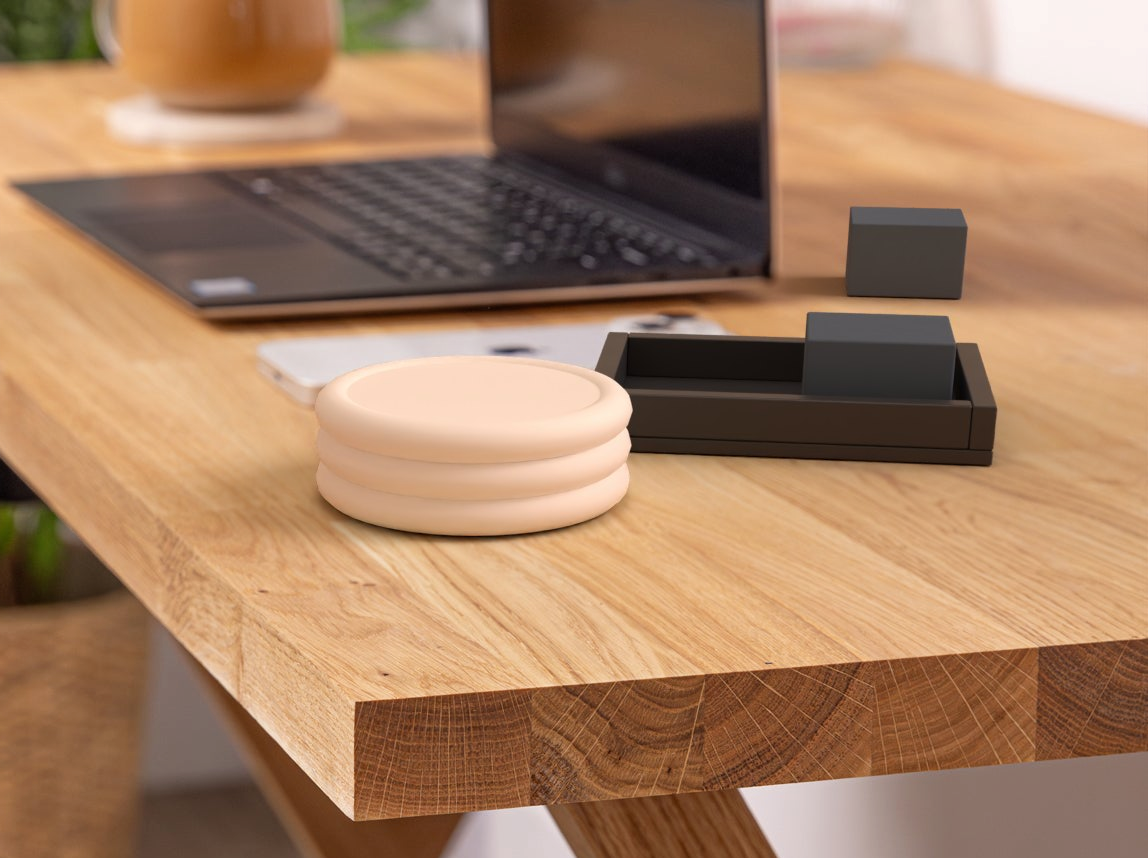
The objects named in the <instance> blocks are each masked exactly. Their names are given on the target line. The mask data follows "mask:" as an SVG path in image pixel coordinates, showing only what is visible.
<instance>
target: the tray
mask: <svg viewBox="0 0 1148 858" xmlns="http://www.w3.org/2000/svg"><path fill="white" fill-rule="evenodd" d="M804 348H805V337H797V336H795V337H794V336H790V337H789V336H764V335H763V336H762V335H761V336H760V335H731V334H730V335H729V334H702V333H701V334H700V333H699V334H695V333H666V332H665V333H663V332H636V331H635V332H634V331H633V332H627V331H625V332H624V331H609V332H608V333H607V336H606V338H605V341H604V344H603V347H602V349H601V351H600V355H599V357H598V360H597V362H596V366H595V368H594V371H596V372H598V373H601V374H603V375H606V376H608V377H609V378H611V379H613V380H614V381H615V382H617V383H618V384H619V385H620V386H621V387H622V388H623V389H624V390H625V391H626V392H627V393H628V395H629V397H630V401H631V405H632V410H633V411H632V414H631V417H630V420H629V423H628V425H627V427H626V428H627V430H628V433H629V437H630V441H631V448H630V451H629V452H638V453H639V452H641V453H643V452H644V453H669V454H691V455H692V454H693V455H694V454H695V455H717V456H719V455H720V456H741V457H742V456H745V457H771V458H795V459H796V458H797V459H799V458H800V459H821V460H823V459H825V460H826V459H827V460H844V461H845V460H847V461H848V460H850V461H872V462H874V461H876V462H877V461H878V462H899V463H924V464H925V463H926V464H927V463H929V464H951V465H952V464H953V465H976V466H992V465H993V456H994V451H993V450H994V449H995V437H996V428H997V427H996V426H997V419H998V418H997V416H998V406H997V403H996V398H995V396H994V393H993V390H992V386H991V383H990V380H989V378H988V374H987V371H986V367H985V363H984V361H983V357H982V355H981V351H980V349H979V345H978V343H977V342H956V357H955V368H954V379H953V389H952V400H934V399H905V398H876V397H847V396H819V395H802V378H803V363H804Z"/></svg>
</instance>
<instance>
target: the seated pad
mask: <svg viewBox="0 0 1148 858" xmlns="http://www.w3.org/2000/svg"><path fill="white" fill-rule="evenodd" d="M805 318H806V319H805V334H804V338H805V348H804V363H803V378H802V395H819V396H847V397H876V398H905V399H934V400H952V389H953V379H954V368H955V357H956V343H957V342H956V340H955V335H954V332H953V328H952V324H951V321H950V317H949V316H948V315H937V314H936V315H933V314H932V315H931V314H928V315H927V314H903V313H901V314H900V313H898V314H897V313H865V312H864V313H863V312H830V311H808V312H807V313H806V317H805Z"/></svg>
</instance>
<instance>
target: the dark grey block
mask: <svg viewBox="0 0 1148 858" xmlns="http://www.w3.org/2000/svg"><path fill="white" fill-rule="evenodd" d="M848 219H849V220H848V230H847V231H848V233H847V247H846V259H845V260H846V261H845V273H844V275H845V277H844V278H845V288H846V295H847V296H850V297H851V296H853V297H883V298H884V297H886V298H887V297H888V298H890V297H891V298H918V299H919V298H920V299H921V298H922V299H923V298H924V299H953V300H954V299H956V300H957V299H959V300H960V299H962V296H963V284H964V276H965V275H964V274H965V264H966V254H967V243H968V233H969V231H968V230H969V226H968V224H967V221H966V218H965V216H964V212H963V211H962V208H943V207H942V208H941V207H898V206H897V207H896V206H892V207H891V206H856V205H855V206H852V205H851V206H850V207H849V218H848Z"/></svg>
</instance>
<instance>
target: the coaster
mask: <svg viewBox="0 0 1148 858" xmlns="http://www.w3.org/2000/svg"><path fill="white" fill-rule="evenodd" d="M313 410H314V414H315V417H316V420H317V423H318V425H319V427H318V430H317V434H316V438H315V441H314V445H315V450H316V453H317V456H318V459H319V460H320V461H319V462H318V467H317V470H316V474H315V482H316V485H317V488H318V491H319V493H320V495H321V497H322V498H323V499H324V500H326V501H327V503H329V504H330V505H331V506H332V507H334V508H335V509H336V510H338V511H339V512H341V514H344V515H346V516H348V517H350V518H352V519H355V520H358V521H361V522H363V523H368V524H369V525H370V524H371V525H374V526H378V527H381V528H387V529H393V530H397V531H404V532H411V533H417V534H419V533H421V534H428V535H441V536H442V535H443V536H464V537H465V536H470V537H472V536H474V537H477V536H483V537H484V536H505V535H506V536H507V535H518V534H527V533H529V534H530V533H536V532H544V531H550V530H555V529H560V528H566V527H570V526H573V525H577V524H580V523H583V522H587V521H589V520H592V519H595V518H598V517H599V516H600V515H602V514H605V513H606V512H608V511H609V510H610V509H612V508H613V507H614V506H615V505H617V504H618V503H619V502H620V501H621V500H622V499H623V498H624V497H625V496H626V494H627V491H628V487H629V485H630V481H631V476H630V471H629V468H628V463H627V460H628V458H629V454H630V452H631V451H630V448H631V441H630V437H629V433H628V430H627V428H626V427H627V425H628V423H629V420H630V417H631V414H632V411H633V410H632V405H631V401H630V397H629V395H628V393H627V392H626V391H625V390H624V389H623V388H622V387H621V386H620V385H619V384H618V383H617V382H615V381H614V380H613V379H611V378H609V377H608V376H606V375H603V374H601V373H598V372H596V371H595V370H592V369H590V368H586V367H582V366H579V365H574V364H568V363H564V362H559V361H552V360H546V359H537V358H529V357H518V356H517V357H516V356H506V355H471V354H470V355H444V356H443V355H441V356H428V357H427V356H426V357H417V358H408V359H407V358H406V359H400V360H393V361H388V362H382V363H376V364H372V365H368V366H364V367H359V368H356V369H354V370H351V371H347V372H344V373H343V374H341V375H339V376H336V377H335V378H333V379H332V380H331V381H329V382H328V383H327V384H325V386H324V387H322V389H320V391H319V392H318V393H317V396H316V399H315V403H314V408H313Z"/></svg>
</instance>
